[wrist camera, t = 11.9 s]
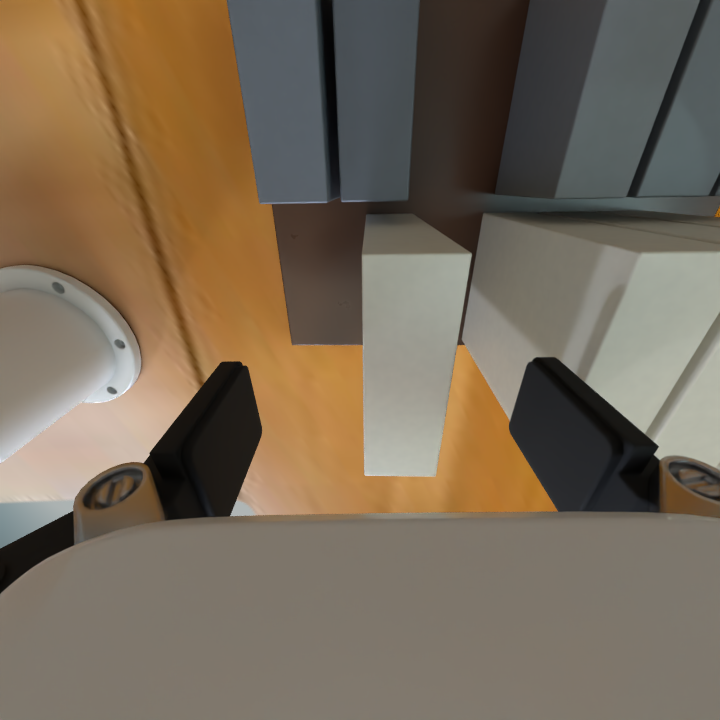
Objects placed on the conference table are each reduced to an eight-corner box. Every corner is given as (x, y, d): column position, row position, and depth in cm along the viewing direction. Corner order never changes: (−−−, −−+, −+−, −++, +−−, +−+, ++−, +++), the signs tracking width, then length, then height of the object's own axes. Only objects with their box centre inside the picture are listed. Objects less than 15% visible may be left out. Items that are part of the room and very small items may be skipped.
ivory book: (366, 339, 24) (364, 476, 13) (366, 214, 20) (361, 254, 8) (404, 339, 24) (435, 477, 13) (412, 213, 19) (473, 252, 8)
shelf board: (295, 337, 26) (291, 345, 24) (248, -10, 16) (238, -27, 14) (633, 336, 25) (648, 345, 24) (812, -32, 15) (854, -53, 14)
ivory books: (461, 339, 24) (543, 478, 13) (482, 212, 19) (641, 251, 8) (591, 339, 23) (795, 481, 12) (644, 210, 19) (1044, 247, 8)
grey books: (294, 198, 19) (259, 204, 13) (270, -13, 15) (201, -152, 9) (660, 191, 18) (802, 195, 12) (754, -32, 14) (1050, -198, 8)
